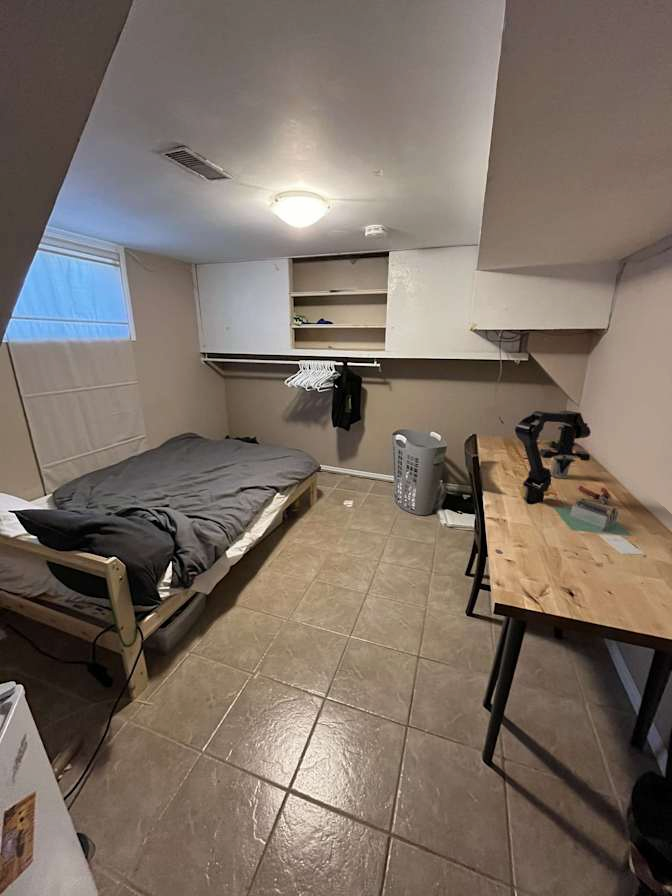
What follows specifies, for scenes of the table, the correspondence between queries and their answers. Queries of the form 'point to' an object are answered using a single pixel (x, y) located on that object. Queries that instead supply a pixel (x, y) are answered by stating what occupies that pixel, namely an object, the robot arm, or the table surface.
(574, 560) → the table surface
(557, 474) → the spray can
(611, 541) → the external hard drive
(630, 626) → the table surface
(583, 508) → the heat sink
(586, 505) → the dark metal plate
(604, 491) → the pliers
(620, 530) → the green square mat
